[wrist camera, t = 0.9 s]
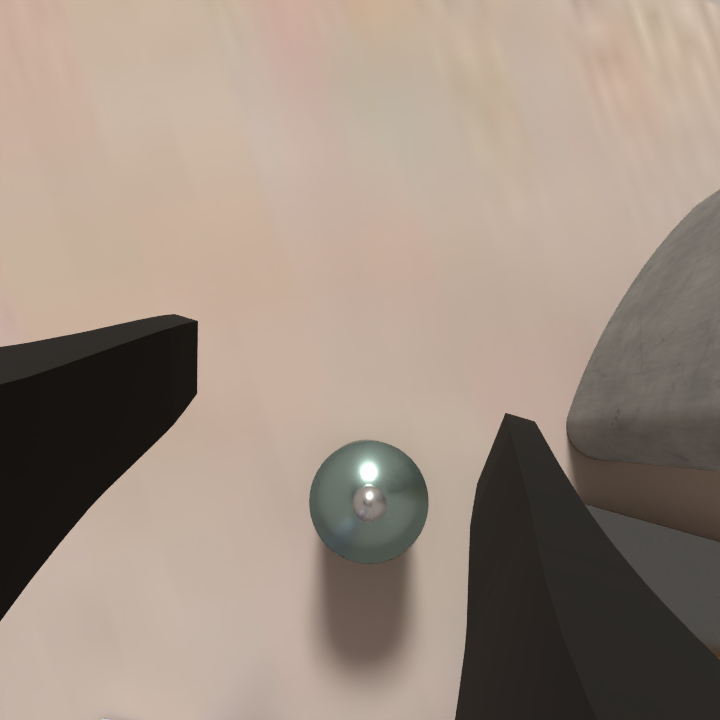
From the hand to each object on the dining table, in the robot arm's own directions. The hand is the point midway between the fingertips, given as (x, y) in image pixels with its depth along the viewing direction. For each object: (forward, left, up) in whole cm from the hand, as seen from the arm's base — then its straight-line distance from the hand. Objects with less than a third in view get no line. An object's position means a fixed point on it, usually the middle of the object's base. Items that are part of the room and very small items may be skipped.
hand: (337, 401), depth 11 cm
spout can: (-3, -2, -14) cm, 14 cm away
